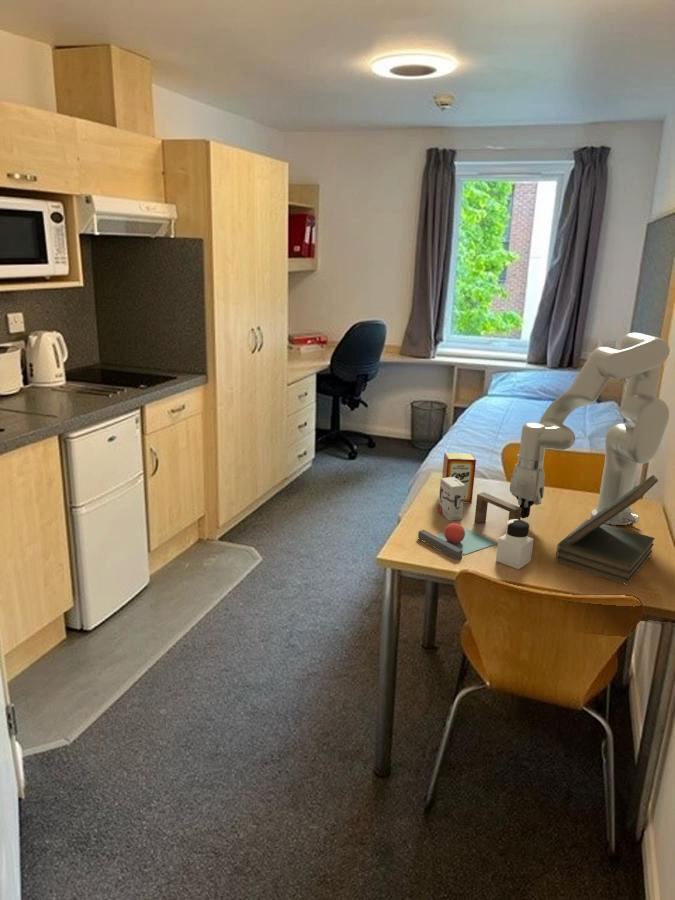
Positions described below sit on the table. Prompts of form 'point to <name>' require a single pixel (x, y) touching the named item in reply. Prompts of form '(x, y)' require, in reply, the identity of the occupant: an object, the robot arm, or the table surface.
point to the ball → (454, 533)
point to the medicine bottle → (515, 544)
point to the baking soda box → (461, 471)
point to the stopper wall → (440, 544)
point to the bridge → (486, 498)
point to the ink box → (451, 498)
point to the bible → (608, 542)
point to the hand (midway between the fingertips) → (523, 516)
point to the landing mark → (470, 541)
